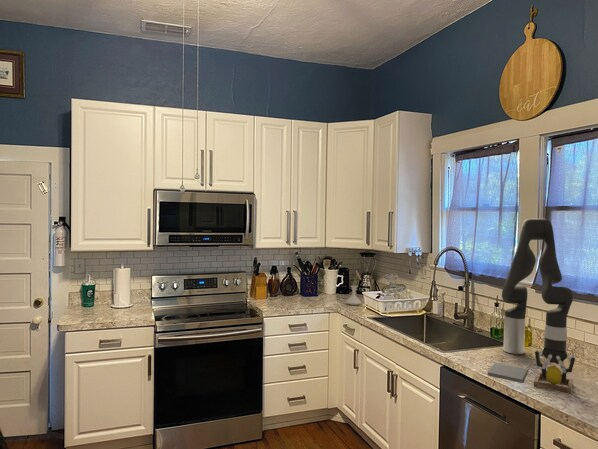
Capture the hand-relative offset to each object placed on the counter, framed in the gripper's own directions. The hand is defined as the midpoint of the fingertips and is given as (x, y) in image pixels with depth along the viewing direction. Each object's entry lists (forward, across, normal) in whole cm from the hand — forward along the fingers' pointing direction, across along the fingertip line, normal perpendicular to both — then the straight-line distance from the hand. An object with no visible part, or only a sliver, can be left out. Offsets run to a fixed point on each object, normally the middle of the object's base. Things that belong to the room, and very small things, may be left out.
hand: (553, 379), depth 172 cm
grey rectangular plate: (+2, +17, -4) cm, 18 cm away
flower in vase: (+2, +135, -92) cm, 163 cm away
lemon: (+2, 0, 0) cm, 3 cm away
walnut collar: (+2, 0, 0) cm, 2 cm away
